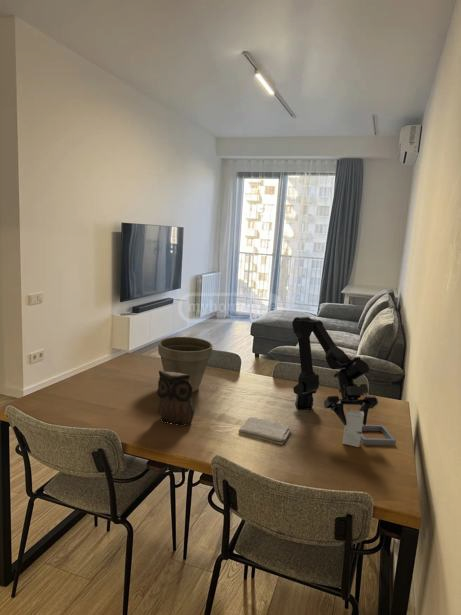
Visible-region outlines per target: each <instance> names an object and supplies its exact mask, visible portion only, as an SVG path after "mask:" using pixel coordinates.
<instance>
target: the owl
mask: <svg viewBox="0 0 461 615" xmlns="http://www.w3.org/2000/svg"><path fill="white" fill-rule="evenodd" d="M158 375H159V379H158V382H157V386H158V388H157V396H158V399H159V401H158V409H157V411H158V413H159V415H160V419H162V421H163V422H166V423H167V422H168V423H172V424H178V425H184V424H191V423H193V419H194V415H195V408H194V403H193V400H192V397H193V393H194V392H193V390H192V386H191V382H190V379H189V378H190V375H187V374H182V373H176V372H164V370H163V371H162V370H159V371H158ZM163 422H162V423H163ZM191 425H192V424H191ZM184 426H185V425H184Z"/></svg>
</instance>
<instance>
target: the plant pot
mask: <svg viewBox="0 0 461 615" xmlns="http://www.w3.org/2000/svg"><path fill="white" fill-rule="evenodd" d="M157 343H158V344H157V348H158V349H157V351H158V352H157V353H158V356H160V360H161V364H162V370H163V372H176V373H182V374H187V375H190V378H189V379H190V382H191V386H192V390H193V392H192V393H195V392H196V391H198V390H199V388H200V386H201V383H202V380H203V377H204V375H205V372H206V369H207V365H208V362H209V359H210V358H211V356H212V353H213V346H214V345H213V343H211V342H210V341H208V340H206V339H202V338H197V337H191V336H172V337H165V338H163V339H160V340H159V341H158V342H157Z"/></svg>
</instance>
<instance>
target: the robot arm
mask: <svg viewBox="0 0 461 615" xmlns="http://www.w3.org/2000/svg"><path fill="white" fill-rule="evenodd" d="M291 323H292V325H291V326H292V329H293V330H292V331H293V333H294V334H295V336H296V337H297V339H298V340H297V341H298V353H299V361H300V374H299V376H298V380H297V381H298V382H297V384H296V385H295V386H294V387H293V388H292V389H293V394H296V399H295V402H294V404H295V406H296V408H297V410H313V406H314V394H316V393H317V391H318V389H319V387H320V379H319V378H320V376H319V374H316V372H315V371H314V365H313V357H312V355H313V354H312V348H311V345H312V344H311V339H310V338H311V335H312V333H313V335H314V337H315V338H316V339H317V341H318V343H319V344H320V346H321V347H322V350H324V351H323V352H325V361H326V363H327V366H329V368H330V369H332V370H336V371H335V373H334V375H333V378H337V380H338V386H339V389H338V392H339V393H340V397H341V398H340V397H339V395H329V396H327V398H325V400H324V402H323V406H324V408H325V409H330V411H332V412H334V413H335V415H336V416H337V417H338V418H339V419H340V421H341V423H342V425H344V427H345V426H346V425H347V424H346V414H345V410H344V405H345V406H346V405H347V406H350V405H351V406H360V408H359V409H358V411H363V412H364V419H363V425H364V426H365V425H367V419H368V414H369V413H368V412H369V410H371V409H374V408H375V407H376V406H377V405H378V404H379V400H378V398H377V397H376V396H365V394H368V393H369V387H368V384H366V383H365V384H364V383H363V384H361V383H360V384H359V386H358V385H357V383H355V380H358V379H361V378H362V377H364V376H365V375H366V374H368V373H369V372H370V367H369V365H368V363H366V362H365V361H364V360H363V359H361V357H360V356H356V357H354V358H353V359H351V358H350V357H349V356H348V355H347V354H346V352H344V350H343V349H341V348H339V347H338V345H336V342H334V341H333V338H332V337H331V335H330V334H329V333H328V331H327V329H326V328H325V326H324V324H323V321H322V320H320V319H314V318H313V319H312V318H311V317H310V316H299V317H298V316H297V317H294V318H293V320H292V322H291ZM362 396H365V397H364V398H363V399H360V398H361V397H362Z"/></svg>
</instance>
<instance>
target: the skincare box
mask: <svg viewBox="0 0 461 615" xmlns="http://www.w3.org/2000/svg"><path fill="white" fill-rule="evenodd" d="M345 418H346V424H347V425H346V426H345V425H344V428H343V429H344V430H343V437H342V444H343V445H348V446H352V447H356V448H359V447H360V444H361V441H360V438H361V433H362V432H363V431H362V425H363V419H364V412H363V411H360V410H359V409H351V408H347V409H346V414H345Z"/></svg>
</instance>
